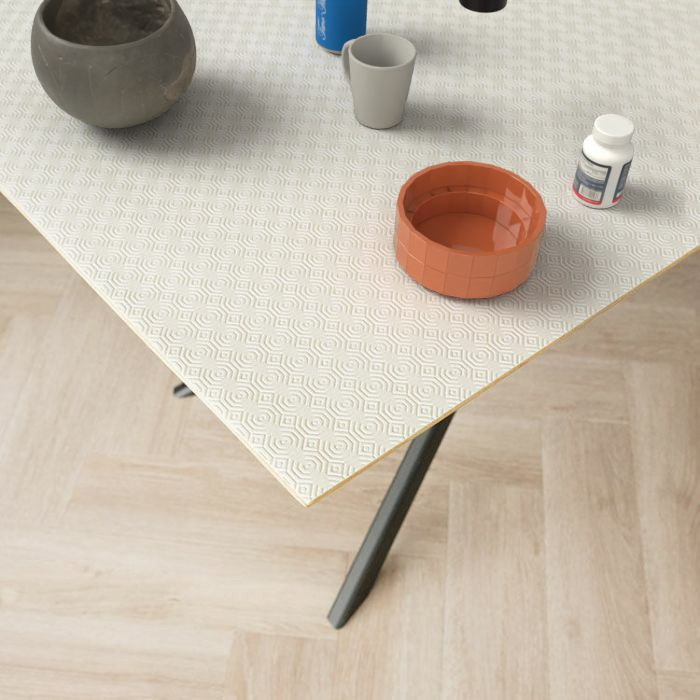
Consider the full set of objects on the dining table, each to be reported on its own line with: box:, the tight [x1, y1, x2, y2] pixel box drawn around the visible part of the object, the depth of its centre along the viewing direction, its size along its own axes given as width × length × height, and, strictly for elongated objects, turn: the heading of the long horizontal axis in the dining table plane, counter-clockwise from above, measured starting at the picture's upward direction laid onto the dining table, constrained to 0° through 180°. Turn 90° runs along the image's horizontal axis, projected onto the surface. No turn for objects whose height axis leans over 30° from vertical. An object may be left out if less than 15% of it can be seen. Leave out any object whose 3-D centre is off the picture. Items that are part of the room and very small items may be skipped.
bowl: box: [30, 0, 198, 129], centre depth 102 cm, size 18×18×13 cm
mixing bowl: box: [392, 160, 548, 300], centre depth 89 cm, size 14×14×6 cm
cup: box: [340, 32, 418, 130], centre depth 104 cm, size 8×10×8 cm
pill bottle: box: [571, 113, 635, 209], centre depth 95 cm, size 5×5×9 cm
